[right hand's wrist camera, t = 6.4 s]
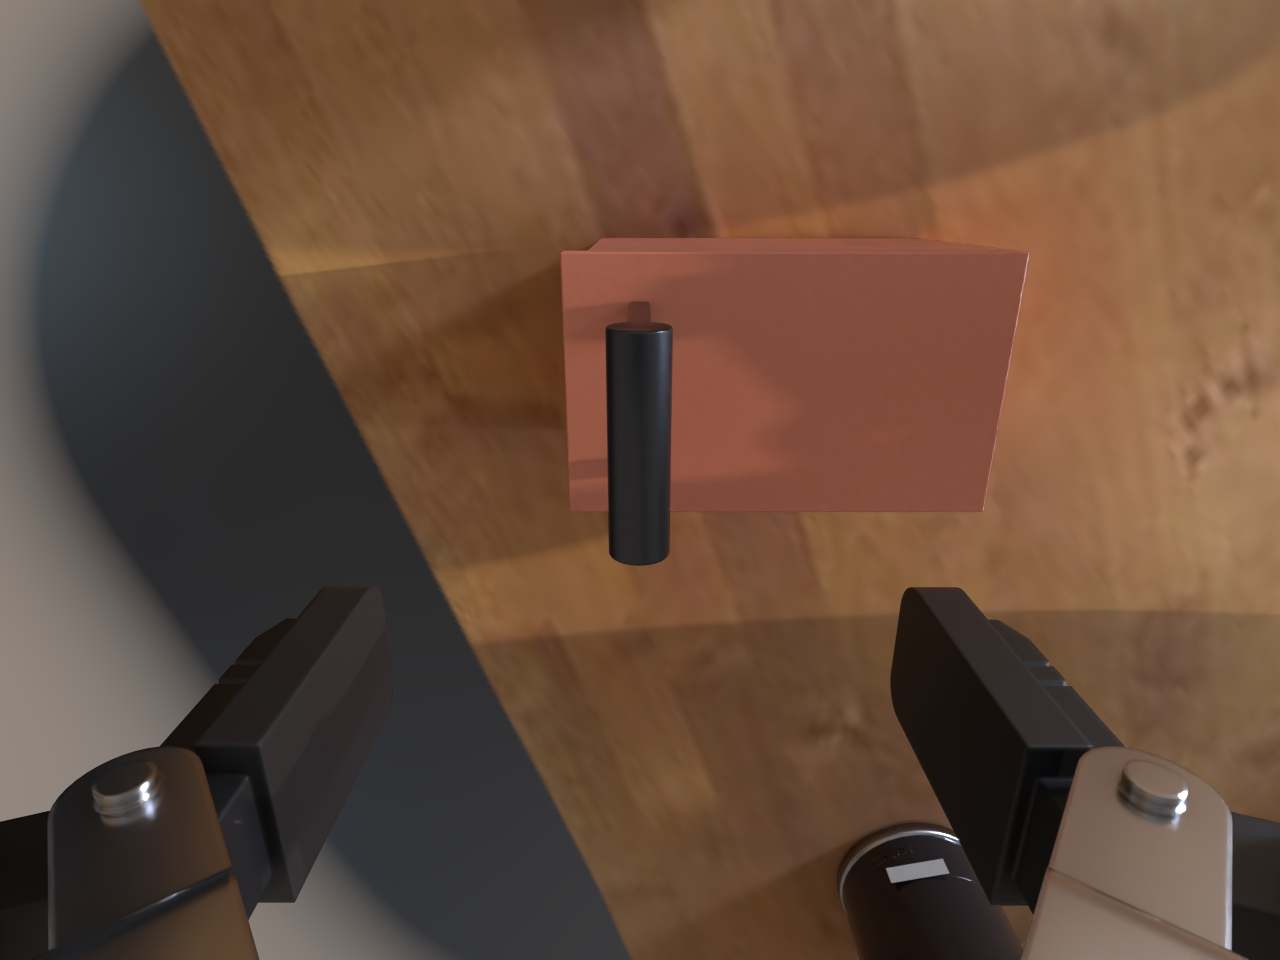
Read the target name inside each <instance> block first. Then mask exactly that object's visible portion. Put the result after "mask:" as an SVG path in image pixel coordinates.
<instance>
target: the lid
mask: <svg viewBox="0 0 1280 960" xmlns="http://www.w3.org/2000/svg"><path fill="white" fill-rule="evenodd" d="M1028 258H1029V253H1028V252H1024V251H562V252H561V253H560V266H561V294H562V321H563V348H564V375H565V402H566V429H567V457H568V484H569V510H570V511H571V512H608V520H609V553H610V556H611V557H612V558H613V559H614V560H616V561H618V562H620V563H623V564H628V565H638V566H640V565H651V564H655V563H658V562H661V561H662V560H664V559H665V558H666V557H667V556H668V555H669V549H670V512H983V509H984V504H985V498H986V493H987V487H988V481H989V476H990V470H991V465H992V459H993V454H994V448H995V442H996V437H997V431H998V426H999V420H1000V414H1001V409H1002V403H1003V398H1004V392H1005V386H1006V381H1007V375H1008V370H1009V364H1010V359H1011V353H1012V347H1013V342H1014V336H1015V331H1016V325H1017V319H1018V314H1019V308H1020V303H1021V297H1022V292H1023V286H1024V280H1025V275H1026V269H1027V264H1028Z"/></svg>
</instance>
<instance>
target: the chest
mask: <svg viewBox="0 0 1280 960" xmlns="http://www.w3.org/2000/svg"><path fill="white" fill-rule="evenodd" d="M588 251H1015V250H1008V249H1000V248H992V247H984V246H976V245H968V244H960V243H952V242H945V241H937V240H929V239H921V238H601V239H600V240H599V241H598V242H597V243H596V244H595V245H593V246H592V247H591V248H590V249H589V250H588Z"/></svg>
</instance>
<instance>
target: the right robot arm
mask: <svg viewBox="0 0 1280 960" xmlns="http://www.w3.org/2000/svg"><path fill="white" fill-rule="evenodd" d="M890 683H891V696H892V702H893V707H894V710H895V713H896V716H897V718H898V720H899V722H900V724H901V726H902V728H903V730H904V732H905V734H906V736H907V738H908V740H909V742H910V744H911V746H912V748H913V750H914V752H915V754H916V756H917V758H918V760H919V762H920V764H921V766H922V768H923V770H924V772H925V774H926V776H927V778H928V780H929V782H930V784H931V786H932V788H933V790H934V792H935V794H936V796H937V798H938V800H939V802H940V804H941V806H942V808H943V810H944V812H945V814H946V816H947V818H948V820H949V822H950V824H951V826H952V828H953V830H954V831H952V830H950V829H947V828H945V827H942V826H938V825H933V824H925V823H909V824H901V825H896V826H892V827H889V828H886V829H883V830H880V831H878V832H876V833H874V834H872V835H870V836H868V837H867V838H865V839H864V840H862V841H861V842H859V843H858V844H857V845H856V846H855V847H854V848H853V849H852V850H851V851H850V852H849V853H848V855H847V856H846V857H845V859H844V861H843V862H842V864H841V867H840V869H839V872H838V878H837V887H838V892H839V896H840V899H841V903H842V906H843V908H844V911H845V912H846V914H847V917H848V921H849V924H850V928H851V931H852V935H853V939H854V942H855V947H856V950H857V953H858V957H859V960H1280V823H1278V822H1273V821H1269V820H1264V819H1260V818H1255V817H1251V816H1246V815H1241V814H1237V813H1233V812H1230V810H1229V808H1228V806H1227V804H1226V803H1225V802H1224V800H1223V799H1222V797H1221V796H1220V795H1219V794H1218V793H1217V792H1216V791H1215V790H1214V789H1213V788H1212V787H1211V786H1210V785H1209V784H1208V783H1206V782H1205V781H1204V780H1203V779H1201V778H1200V777H1198V776H1197V775H1196V774H1194V773H1193V772H1191V771H1189V770H1187V769H1186V768H1184V767H1182V766H1181V765H1178V764H1176V763H1174V762H1172V761H1170V760H1168V759H1166V758H1163V757H1161V756H1158V755H1155V754H1152V753H1149V752H1146V751H1142V750H1138V749H1133V748H1127V747H1125V746H1124V745H1123V744H1122V743H1121V742H1120V741H1119V740H1118V738H1117V737H1116V736H1115V735H1114V734H1113V733H1112V732H1111V731H1110V729H1109V728H1108V727H1107V726H1106V725H1105V724H1104V723H1103V722H1102V720H1101V719H1100V718H1099V717H1098V716H1097V715H1096V714H1095V713H1094V712H1093V710H1092V709H1091V708H1090V707H1089V706H1088V705H1087V704H1086V703H1085V701H1084V700H1083V699H1082V698H1081V697H1080V696H1079V695H1078V694H1077V692H1076V691H1075V690H1074V689H1073V688H1072V687H1071V686H1067V685H1066V680H1065V679H1064V678H1063V677H1062V676H1061V675H1060V673H1059V672H1058V671H1057V670H1056V669H1055V668H1054V667H1050V665H1049V661H1048V660H1047V659H1046V658H1045V657H1044V655H1043V654H1042V653H1041V652H1040V651H1039V650H1038V649H1037V648H1036V646H1035V645H1034V644H1033V643H1032V642H1031V641H1030V640H1029V639H1028V638H1026V637H1025V636H1023V635H1021V634H1020V633H1018V632H1017V631H1015V630H1013V629H1012V628H1010V627H1008V626H1007V625H1005V624H1004V623H1002V622H1000V621H999V620H987V618H986V617H985V616H984V615H983V614H982V612H981V611H980V610H979V609H978V608H977V606H976V605H975V604H974V603H973V602H972V600H971V599H970V598H969V597H968V596H967V594H966V593H965V592H964V591H963V590H962V589H960V588H957V587H910V588H907V589H906V591H905V592H904V594H903V597H902V600H901V606H900V613H899V620H898V627H897V634H896V641H895V648H894V655H893V662H892V669H891V681H890ZM392 693H393V669H392V662H391V655H390V648H389V641H388V634H387V627H386V620H385V613H384V605H383V600H382V596H381V593H380V591H379V589H378V588H377V587H375V586H326V587H324V588H322V589H321V590H320V591H319V592H318V594H317V595H316V596H315V597H314V598H313V600H312V601H311V602H310V603H309V605H308V606H307V607H306V608H305V609H304V611H303V612H302V613H301V614H300V615H299V617H298V618H297V619H285V620H284V621H282V622H280V623H279V624H277V625H276V626H274V627H272V628H271V629H269V630H268V631H266V632H264V633H263V634H261V635H260V636H258V637H256V638H255V639H254V640H253V642H252V643H251V644H250V645H249V646H248V647H247V648H246V649H245V651H244V652H243V653H242V654H241V655H240V656H239V657H238V658H237V660H236V664H235V665H231V666H230V667H229V669H228V670H227V671H226V672H225V673H224V674H223V675H222V677H221V678H220V679H219V684H215V685H214V686H213V687H212V688H211V689H210V690H209V691H208V692H207V694H206V695H205V696H204V697H203V698H202V699H201V700H200V701H199V703H198V704H197V705H196V706H195V707H194V708H193V709H192V710H191V712H190V713H189V714H188V715H187V716H186V717H185V718H184V720H183V721H182V722H181V723H180V724H179V725H178V726H177V727H176V729H175V730H174V731H173V732H172V733H171V734H170V735H169V736H168V738H167V739H166V740H165V741H164V742H163V743H162V744H161V746H160V747H154V748H147V749H143V750H138V751H134V752H131V753H128V754H125V755H122V756H119V757H117V758H114V759H112V760H110V761H108V762H106V763H104V764H102V765H100V766H98V767H96V768H94V769H93V770H91V771H89V772H87V773H86V774H85V775H83V776H82V777H80V778H79V779H77V780H76V781H75V782H74V783H73V784H71V785H70V786H69V787H68V788H67V789H66V790H65V791H64V792H63V793H62V794H61V795H60V796H59V797H58V799H57V800H56V802H55V803H54V804H53V806H52V808H51V810H50V811H47V812H42V813H38V814H33V815H29V816H24V817H20V818H15V819H11V820H6V821H2V822H0V960H259V957H258V953H257V950H256V946H255V943H254V939H253V936H252V932H251V929H250V925H249V922H248V920H249V918H250V916H251V914H252V912H253V911H254V909H255V907H256V905H257V903H258V902H295V901H296V899H297V897H298V895H299V893H300V890H301V888H302V886H303V884H304V882H305V880H306V878H307V876H308V874H309V872H310V870H311V868H312V866H313V864H314V862H315V860H316V858H317V856H318V854H319V852H320V850H321V848H322V846H323V844H324V842H325V840H326V838H327V836H328V834H329V832H330V830H331V828H332V826H333V824H334V822H335V819H336V818H337V816H338V813H339V812H340V809H341V807H342V805H343V803H344V801H345V799H346V797H347V795H348V793H349V791H350V789H351V787H352V785H353V783H354V781H355V779H356V777H357V775H358V773H359V771H360V769H361V767H362V765H363V763H364V761H365V759H366V757H367V755H368V753H369V751H370V749H371V747H372V745H373V743H374V741H375V739H376V737H377V735H378V732H379V730H380V729H381V726H382V724H383V722H384V720H385V718H386V716H387V714H388V711H389V708H390V704H391V699H392ZM1001 905H1028V906H1029V908H1030V910H1031V911H1032V913H1033V918H1032V922H1031V925H1030V929H1029V932H1028V936H1027V939H1026V943H1025V946H1024V949H1023V947H1022V945H1021V944H1020V942H1019V940H1018V938H1017V936H1016V934H1015V932H1014V930H1013V928H1012V926H1011V924H1010V922H1009V920H1008V918H1007V916H1006V914H1005V912H1004V910H1003V908H1002V906H1001Z"/></svg>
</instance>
